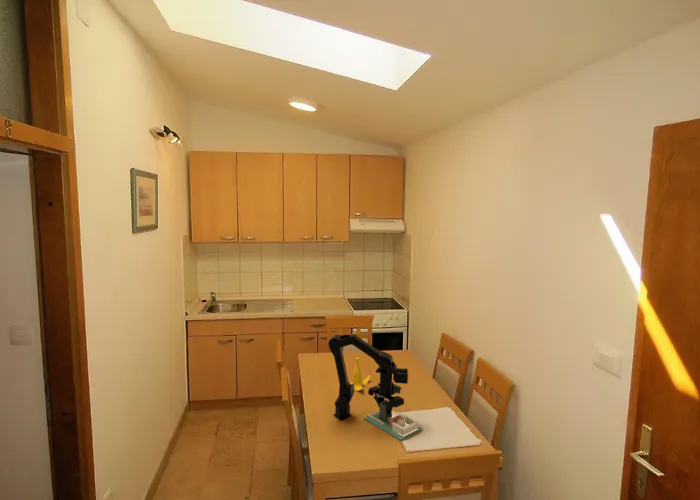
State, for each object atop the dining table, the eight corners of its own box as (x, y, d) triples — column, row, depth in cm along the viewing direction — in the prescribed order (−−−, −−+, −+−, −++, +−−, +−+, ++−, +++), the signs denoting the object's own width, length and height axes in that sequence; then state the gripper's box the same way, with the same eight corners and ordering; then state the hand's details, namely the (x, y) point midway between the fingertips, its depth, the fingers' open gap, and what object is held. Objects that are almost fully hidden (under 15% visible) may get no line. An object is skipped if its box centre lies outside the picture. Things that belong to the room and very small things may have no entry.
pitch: (400, 441, 179) (400, 431, 179) (364, 419, 198) (364, 410, 197) (422, 430, 188) (422, 421, 187) (385, 410, 206) (385, 402, 206)
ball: (393, 423, 189) (398, 431, 187) (397, 418, 187) (402, 426, 185) (399, 420, 192) (404, 428, 190) (403, 415, 190) (408, 423, 188)
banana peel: (362, 395, 224) (362, 364, 222) (338, 384, 238) (338, 355, 236) (382, 385, 236) (382, 357, 234) (358, 376, 249) (358, 349, 247)
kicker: (391, 426, 189) (391, 410, 188) (377, 419, 196) (378, 402, 195) (401, 422, 193) (401, 406, 192) (387, 415, 200) (387, 399, 199)
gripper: (412, 383, 192) (412, 415, 194) (384, 371, 207) (383, 401, 208) (395, 390, 185) (395, 423, 187) (367, 377, 200) (367, 408, 201)
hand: (385, 413), depth 196 cm, fingers closed on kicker, 4 cm apart
